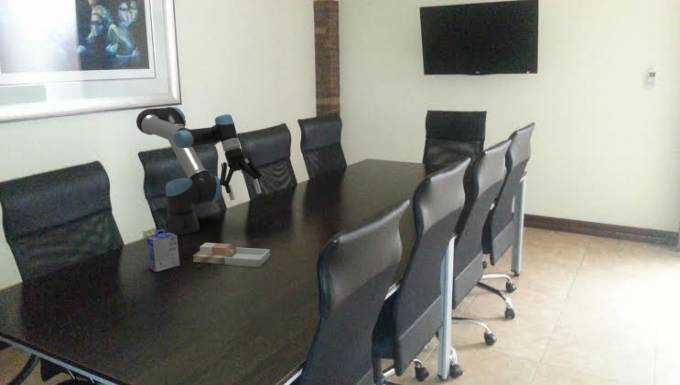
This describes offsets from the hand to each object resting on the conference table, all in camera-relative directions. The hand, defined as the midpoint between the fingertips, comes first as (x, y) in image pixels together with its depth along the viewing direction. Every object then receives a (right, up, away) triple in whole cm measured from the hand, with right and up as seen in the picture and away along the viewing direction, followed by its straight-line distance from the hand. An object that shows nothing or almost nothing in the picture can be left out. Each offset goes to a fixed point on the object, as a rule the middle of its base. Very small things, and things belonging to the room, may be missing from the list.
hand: (246, 196), depth 241 cm
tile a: (-11, -22, -23) cm, 33 cm away
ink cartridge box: (-25, -27, -31) cm, 48 cm away
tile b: (-5, -22, -24) cm, 33 cm away
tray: (+5, -25, -26) cm, 36 cm away
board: (-9, -24, -23) cm, 34 cm away
